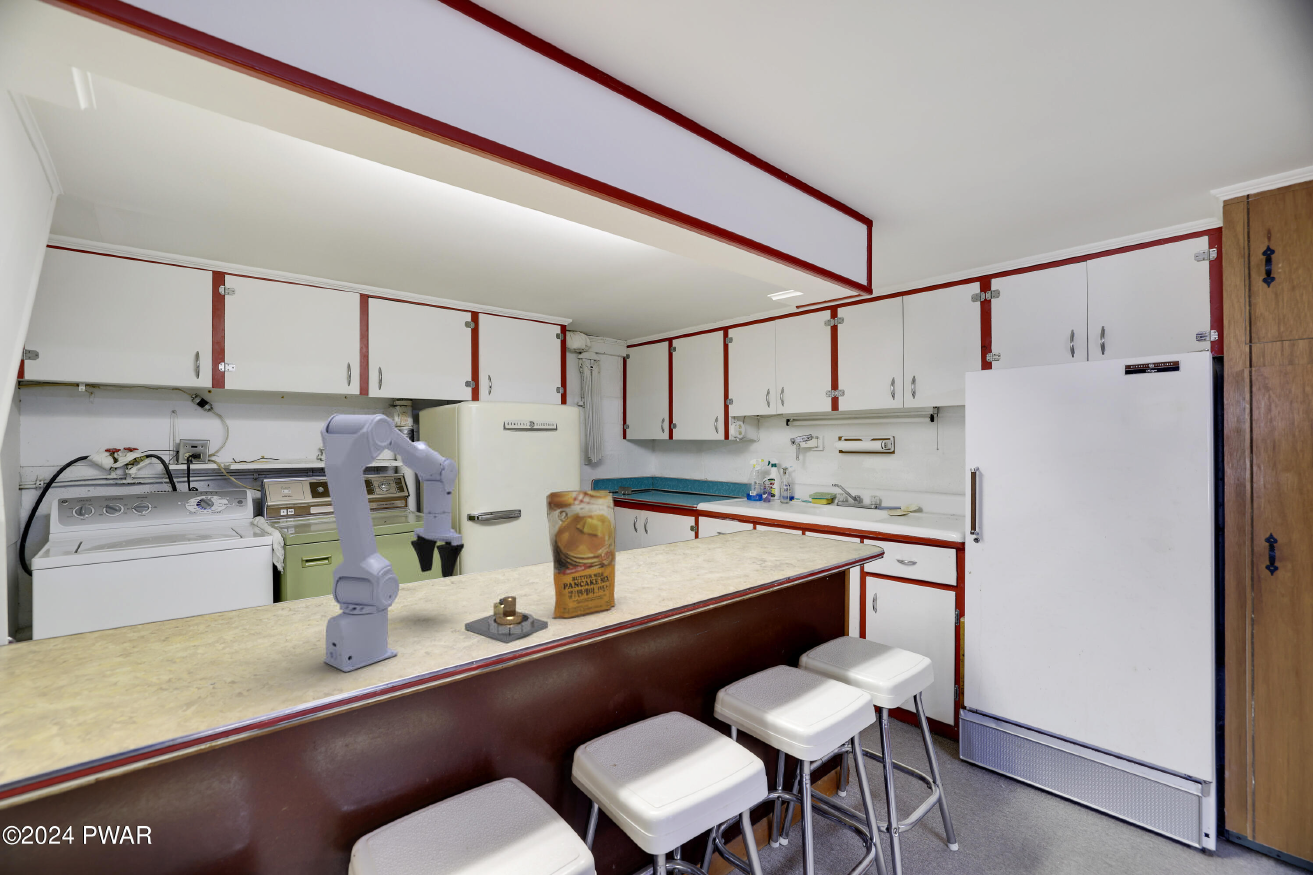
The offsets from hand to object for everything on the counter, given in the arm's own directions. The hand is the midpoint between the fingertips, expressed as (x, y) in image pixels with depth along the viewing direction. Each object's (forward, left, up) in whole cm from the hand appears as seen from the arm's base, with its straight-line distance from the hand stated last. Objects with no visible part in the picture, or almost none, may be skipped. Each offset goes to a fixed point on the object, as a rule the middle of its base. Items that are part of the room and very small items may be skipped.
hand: (436, 573), depth 121 cm
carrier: (+5, -17, -10) cm, 20 cm away
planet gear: (+3, -20, -9) cm, 22 cm away
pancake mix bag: (+23, -22, -10) cm, 34 cm away
